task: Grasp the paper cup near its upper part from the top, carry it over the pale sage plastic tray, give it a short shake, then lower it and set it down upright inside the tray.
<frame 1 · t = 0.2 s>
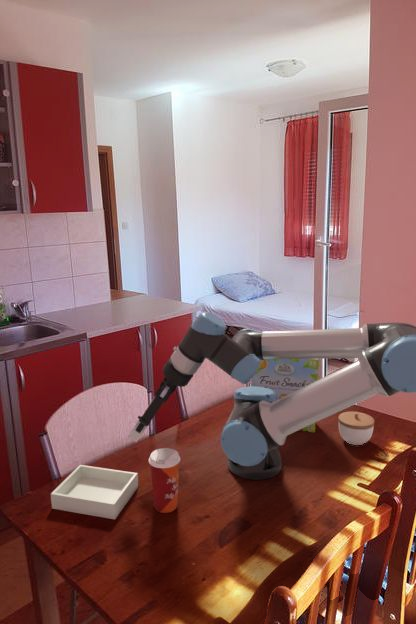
hand: (140, 425, 128), 15 cm above the table, tool tilted 35°, fingers open, 13 cm apart
lidded jar: (354, 442, 150), on the table
tray: (96, 497, 123), on the table
snack box: (283, 425, 162), on the table
paper cup: (166, 506, 119), on the table
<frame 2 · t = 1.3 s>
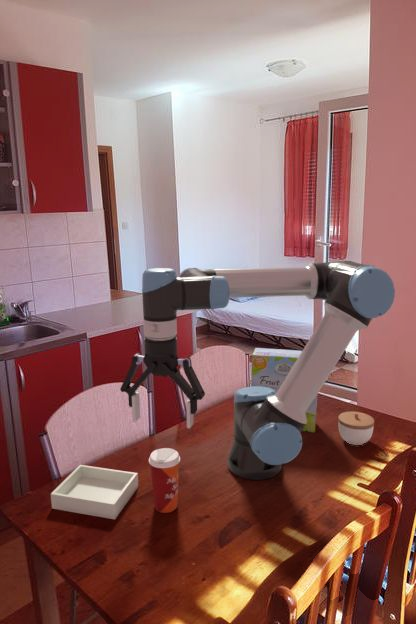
hand: (162, 422, 114), 22 cm above the table, tool pointing down, fingers open, 13 cm apart
nothing on the table moved.
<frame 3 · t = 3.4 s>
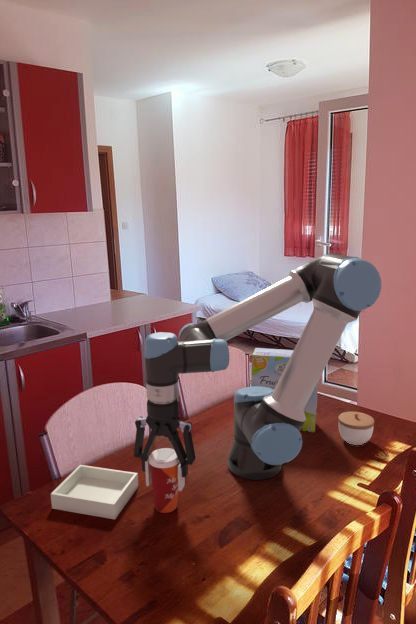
hand: (165, 485, 117), 6 cm above the table, tool pointing down, fingers closed on paper cup, 8 cm apart
paper cup: (166, 506, 119), on the table, touching gripper
everything else where it was.
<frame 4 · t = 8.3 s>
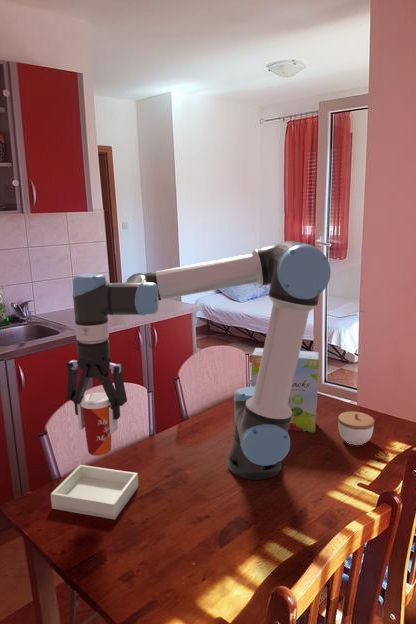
hand: (98, 428, 118), 19 cm above the table, tool pointing down, fingers closed on paper cup, 8 cm apart
paper cup: (99, 450, 119), point 13 cm above the table, touching gripper
everything else where it was.
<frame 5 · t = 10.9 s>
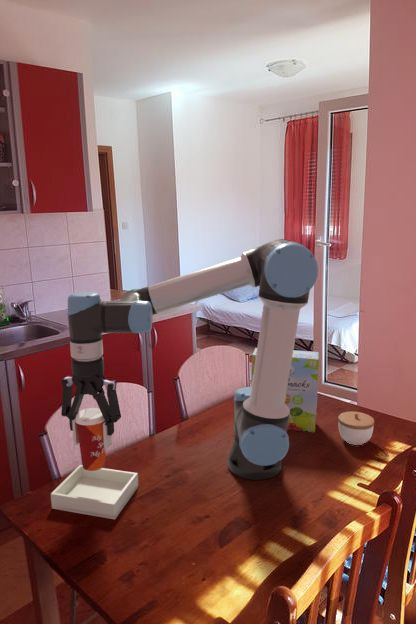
hand: (92, 444, 119), 15 cm above the table, tool pointing down, fingers closed on paper cup, 8 cm apart
paper cup: (94, 465, 121), point 9 cm above the table, touching gripper
everything else where it was.
when the fingers open (7 cm above the table, at t = 13.3 s): paper cup stays where it is, resting on tray.
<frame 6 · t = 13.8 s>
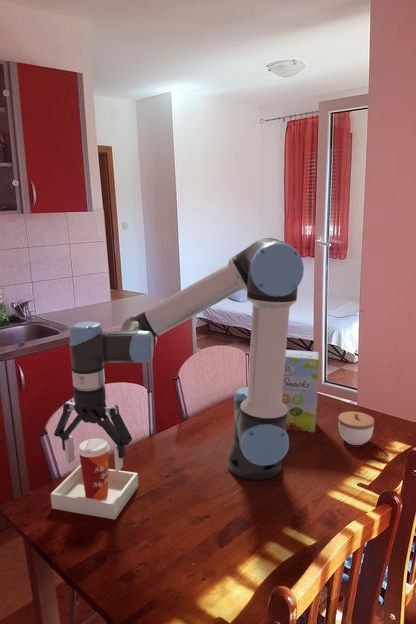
hand: (94, 465, 121), 9 cm above the table, tool pointing down, fingers open, 13 cm apart
paper cup: (97, 495, 122), point 1 cm above the table, touching tray
everything else where it was.
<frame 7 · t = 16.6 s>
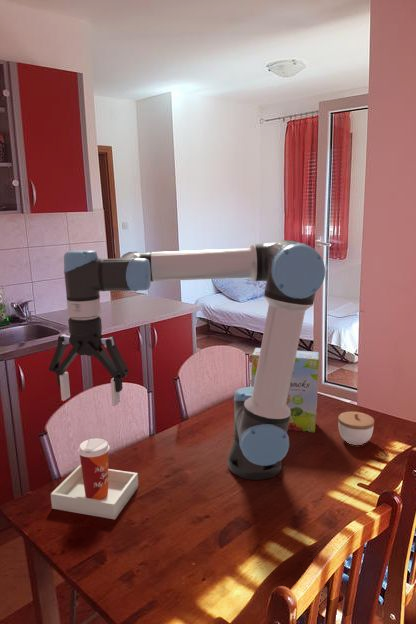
hand: (90, 401, 117), 26 cm above the table, tool pointing down, fingers open, 13 cm apart
nothing on the table moved.
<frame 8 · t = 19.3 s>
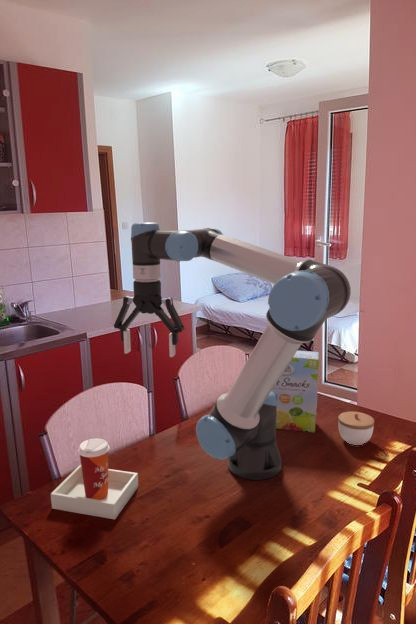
hand: (149, 354, 136), 32 cm above the table, tool pointing down, fingers open, 13 cm apart
nothing on the table moved.
at the end: paper cup inside the target area on the tray (0.1 cm from its centre), point 0.6 cm above the tray's base; paper cup tilted 0°; the gripper is holding nothing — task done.
